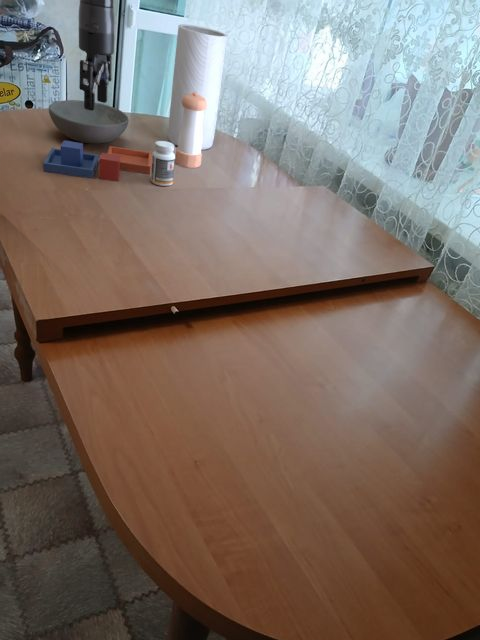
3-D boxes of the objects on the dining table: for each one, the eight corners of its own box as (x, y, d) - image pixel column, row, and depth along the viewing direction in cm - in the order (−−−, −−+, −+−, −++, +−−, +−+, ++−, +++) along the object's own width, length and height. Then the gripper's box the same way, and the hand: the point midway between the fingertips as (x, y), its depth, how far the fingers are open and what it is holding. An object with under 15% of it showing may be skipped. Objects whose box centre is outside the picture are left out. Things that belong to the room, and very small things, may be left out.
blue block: (61, 166, 135) (60, 146, 132) (64, 160, 139) (63, 140, 136) (80, 169, 136) (80, 149, 133) (82, 162, 140) (82, 143, 137)
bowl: (103, 126, 168) (103, 99, 163) (141, 150, 158) (143, 122, 153) (36, 129, 154) (35, 100, 150) (73, 155, 144) (73, 124, 139)
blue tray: (43, 171, 132) (42, 163, 131) (51, 155, 141) (51, 147, 140) (93, 178, 134) (93, 170, 133) (98, 162, 143) (98, 154, 142)
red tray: (104, 167, 141) (104, 159, 140) (109, 153, 151) (109, 145, 149) (150, 174, 144) (150, 166, 143) (151, 159, 153) (152, 152, 152)
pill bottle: (177, 184, 142) (181, 146, 136) (162, 188, 138) (166, 149, 132) (160, 176, 144) (164, 138, 138) (145, 180, 140) (148, 141, 134)
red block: (99, 178, 135) (99, 158, 132) (101, 172, 139) (101, 152, 136) (118, 181, 136) (118, 161, 133) (119, 174, 140) (120, 155, 137)
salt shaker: (195, 170, 153) (204, 98, 142) (171, 163, 154) (177, 90, 143) (203, 163, 159) (212, 93, 148) (180, 156, 160) (187, 86, 149)
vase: (210, 154, 167) (226, 39, 148) (163, 145, 165) (173, 27, 147) (214, 141, 178) (229, 32, 160) (170, 132, 177) (181, 21, 158)
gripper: (91, 21, 124) (91, 96, 134) (66, 26, 113) (68, 108, 122) (123, 28, 125) (121, 103, 134) (102, 35, 113) (101, 116, 123)
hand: (95, 105), depth 128 cm, fingers open, 8 cm apart
